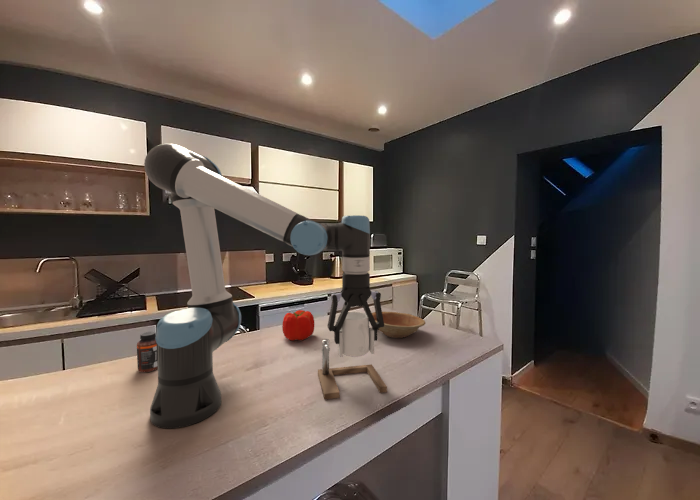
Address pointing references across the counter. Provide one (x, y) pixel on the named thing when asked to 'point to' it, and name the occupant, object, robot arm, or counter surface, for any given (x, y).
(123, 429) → the counter surface
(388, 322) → the bowl
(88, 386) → the counter surface
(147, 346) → the supplement bottle
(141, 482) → the counter surface
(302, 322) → the red lobed round piece
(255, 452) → the counter surface
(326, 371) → the hook post
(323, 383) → the brown wooden u-shaped piece
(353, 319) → the mug
